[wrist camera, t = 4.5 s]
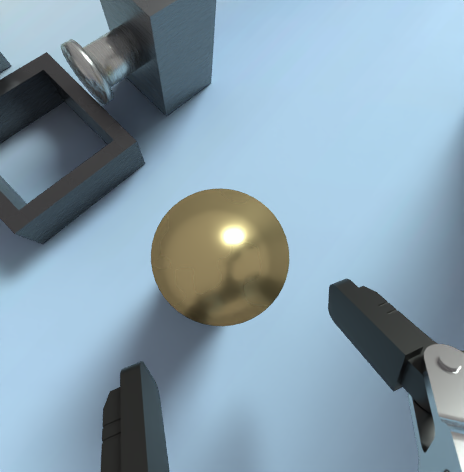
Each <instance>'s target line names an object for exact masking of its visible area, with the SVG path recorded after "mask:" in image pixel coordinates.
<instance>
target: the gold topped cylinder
mask: <svg viewBox="0 0 464 472" xmlns="http://www.w3.org/2000/svg"><path fill="white" fill-rule="evenodd" d="M151 264H152V271H153V275H154V278H155V281H156V283H157V285H158V288H159V290H160V291H161V293H162V294H163V296H164V298H165V299H166V300H167V301H168V302H169V304H170V305H171V306H172V307H174V308H175V309H176V310H177V311H178V312H180V313H181V314H183V315H184V316H186V317H187V318H189V319H192V320H194V321H196V322H199V323H202V324H206V325H212V326H229V325H235V324H239V323H243V322H245V321H248V320H250V319H252V318H254V317H256V316H258V315H259V314H260V313H262V312H263V311H264V310H266V309H267V308H268V307H269V306H270V305H271V304H272V303H273V302H274V300H275V299H276V298H277V296H278V295H279V293H280V291H281V290H282V288H283V285H284V283H285V280H286V277H287V273H288V267H289V249H288V243H287V239H286V236H285V233H284V231H283V229H282V227H281V225H280V223H279V221H278V220H277V218H276V217H275V216H274V214H273V213H272V212H271V211H270V210H269V209H268V208H267V207H266V206H265V205H263V204H262V203H261V202H260V201H258V200H256V199H255V198H253V197H251V196H249V195H247V194H245V193H242V192H239V191H235V190H230V189H210V190H204V191H200V192H197V193H194V194H192V195H190V196H188V197H186V198H184V199H182V200H181V201H179V202H178V203H177V204H176V205H174V206H173V207H172V208H171V209H170V210H169V211H168V212H167V214H166V215H165V216H164V218H163V219H162V220H161V222H160V224H159V226H158V228H157V230H156V233H155V235H154V239H153V243H152V250H151Z"/></svg>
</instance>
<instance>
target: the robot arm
mask: <svg viewBox="0 0 464 472" xmlns="http://www.w3.org/2000/svg"><path fill="white" fill-rule="evenodd" d="M328 310H329V314H330V316H331V318H332V320H333V321H334V323H335V324H336V325H337V326H338V327H339V328H340V330H341V331H342V332H343V333H344V334H345V335H346V337H347V338H348V339H349V340H350V341H351V342H352V344H353V345H354V346H355V347H356V348H357V349H358V351H359V352H360V353H361V354H362V355H363V356H364V358H365V359H366V360H367V361H368V362H369V363H370V365H371V366H372V367H373V368H374V369H375V370H376V372H377V373H378V374H379V375H380V376H381V377H382V379H383V380H384V381H385V382H386V383H387V385H388V386H389V387H390V388H391V389H392V390H393V392H394V391H396V390H398V389H399V388H401V387H403V388H404V389H405V390H406V391H407V392H408V400H409V405H410V411H411V416H412V421H413V427H414V432H415V438H416V443H417V449H418V457H419V462H418V472H464V351H460V350H458V349H456V348H454V347H451V346H448V345H444V344H438V343H436V342H434V341H433V340H432V339H430V338H429V337H428V336H427V335H426V334H425V333H423V332H422V331H421V330H420V329H419V328H418V327H416V326H415V325H414V324H413V323H412V322H411V321H410V320H408V319H407V318H406V317H405V316H404V315H403V314H401V313H400V312H399V311H397V310H396V308H394V307H393V306H392V305H391V304H390V303H387V301H386V300H385V299H384V298H383V297H382V296H380V295H379V294H378V293H377V292H375V291H373V290H371V289H369V288H367V287H365V286H362V287H357V286H356V285H355V284H354V283H353V282H352V281H351V280H349V279H344V280H342V281H339V282H337V283H334V284H332V285H330V287H329V303H328ZM102 441H103V444H102V455H101V472H169V464H168V456H167V449H166V441H165V433H164V425H163V417H162V410H161V402H160V395H159V391H158V387H157V385H156V382H155V380H154V379H153V377H152V376H151V374H150V372H149V371H148V369H147V367H146V366H145V364H144V363H143V362H142V361H141V362H139V363H136V364H134V365H131V366H129V367H127V368H124V369H122V370H121V373H120V387H119V388H117V389H115V390H112V391H110V393H109V395H108V398H107V401H106V403H105V406H104V408H103V431H102Z"/></svg>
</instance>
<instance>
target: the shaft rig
mask: <svg viewBox="0 0 464 472" xmlns="http://www.w3.org/2000/svg"><path fill="white" fill-rule="evenodd" d="M100 2H101V5H102V8H103V11H104V14H105V17H106V20H107V23H108V26H109V29H110V31H109V32H108V33H106V34H104V35H103V36H101V37H100V38H98V39H96V40H95V41H93V42H91V43H90V44H88V45H86V46H85V47H83V48H82V47H81V46H80V45H79V44H78V43H77V42H76V41H74V40H72V39H70V40H69V41H67V42H65V43H63V44H62V45H61V50H62V52H63V55H64V57H65V58H66V60H67V62H68V64H69V65H70V67H71V68H72V70H73V71H74V73H75V74H76V76H77V77H78V78H79V80H80V81H81V82H82V83H83V85H84V86H85V87H86V88H87V90H88V91H89V92H90V93H91V94H92V95H93V96H94V97H95V98H96V99H97V100H98V101H99V102H100V103H102V104H104V105H105V104H107V103H108V102H110V101H111V100H113V98H114V96H113V92H112V90H111V87H112V86H114V85H115V84H117V83H118V82H120V81H121V80H123V79H124V78H126V77H127V78H128V79H129V80H130V81H131V82H132V83H133V84H134V85H135V86H136V87H137V88H138V89H139V90H140V91H141V92H142V93H143V94H144V95H145V96H146V97H147V98H148V99H149V100H150V101H151V102H152V103H153V104H155V105H156V106H157V107H158V108H159V109H160V110H161V111H162V112H163V113H164V114H165V115H166V116H167V115H169V114H170V113H171V112H173V111H174V110H175V109H177V108H178V107H179V106H181V105H182V104H183V103H185V102H186V101H187V100H189V99H190V98H191V97H193V96H194V95H195V94H197V93H198V92H199V91H201V90H202V89H203V88H205V87H206V86H207V85H209V84H210V83H211V76H212V59H213V43H214V27H215V11H216V0H100ZM10 66H11V65H10V63H9V62H8V61H7V60H6V58H5V57H4V56H3V55H2V53H1V52H0V72H1V71H3V70H5V69H6V68H8V67H10ZM64 101H65V102H66V103H67V104H68V105H69V106H70V107H71V108H72V109H73V110H74V111H75V112H76V113H77V114H78V115H79V116H80V117H81V118H82V119H83V120H84V121H85V122H86V123H87V124H88V125H89V126H90V127H91V128H92V129H93V130H94V131H95V132H96V133H97V134H98V135H99V136H100V137H101V138H102V139H103V140H104V141H105V142H106V143H107V144H108V145H107V146H105V147H104V148H103V149H101V150H100V151H99V152H97V153H96V154H95V155H93V156H92V157H90V158H89V159H88V160H86V161H85V162H84V163H82V164H81V165H80V166H78V167H77V168H76V169H74V170H73V171H71V172H70V173H69V174H67V175H66V176H65V177H63V178H62V179H61V180H59V181H58V182H56V183H55V184H54V185H52V186H51V187H50V188H48V189H47V190H46V191H44V192H43V193H42V194H40V195H39V196H37V197H36V198H35V199H33V200H32V201H31V202H29V203H28V204H26V203H25V201H24V200H23V199H22V198H21V197H20V196H19V195H18V194H17V193H16V192H15V191H14V190H13V189H12V188H11V187H10V185H9V184H8V183H7V182H6V181H5V180H4V179H3V178H2V177H1V176H0V218H1V220H2V221H3V222H4V223H5V224H6V225H7V226H8V227H9V228H10V229H11V230H12V231H13V233H14V234H17V235H19V236H22V237H25V238H28V239H30V240H33V241H36V242H38V243H41V244H44V243H45V242H46V241H47V240H49V239H50V238H51V237H52V236H54V235H55V234H56V233H58V232H59V231H60V230H61V229H63V228H64V227H65V226H66V225H68V224H69V223H70V222H71V221H73V220H74V219H75V218H77V217H78V216H79V215H80V214H82V213H83V212H84V211H85V210H87V209H88V208H89V207H91V206H92V205H93V204H94V203H96V202H97V201H98V200H99V199H101V198H102V197H103V196H104V195H106V194H107V193H108V192H110V191H111V190H112V189H113V188H115V187H116V186H117V185H118V184H120V183H121V182H122V181H124V180H125V179H126V178H127V177H129V176H130V175H131V174H132V173H134V172H135V171H136V170H137V169H139V168H140V167H141V166H143V165H144V164H145V162H144V159H143V157H142V154H141V152H140V149H139V146H138V144H137V141H136V140H135V139H134V138H133V137H132V136H131V135H130V134H129V133H128V132H127V131H126V130H125V129H124V128H123V127H122V126H121V125H120V124H119V123H118V122H117V121H116V120H115V119H114V118H113V117H112V116H110V115H109V114H108V113H107V112H106V111H105V110H104V109H103V108H102V107H101V106H100V105H99V104H98V103H97V102H96V101H95V100H94V99H93V98H92V97H91V96H90V95H89V94H88V93H87V92H86V91H85V90H84V89H83V88H82V87H81V86H80V85H79V84H78V83H77V82H76V81H75V80H74V79H73V78H72V77H71V76H70V75H69V74H68V73H67V72H66V71H65V70H64V69H63V68H62V67H61V66H60V65H59V64H58V63H57V62H56V61H55V60H54V59H53V58H52V57H51V56H50V55H49V54H48V53H47V52H46V53H45V54H43V55H41V56H40V57H38V58H36V59H35V60H33V61H31V62H30V63H28V64H26V65H24V66H23V67H21V68H19V69H18V70H16V71H14V72H13V73H11V74H9V75H8V76H6V77H4V78H3V79H1V80H0V143H1V142H3V141H4V140H6V139H7V138H9V137H10V136H12V135H13V134H15V133H16V132H18V131H20V130H21V129H23V128H24V127H26V126H27V125H29V124H30V123H32V122H33V121H35V120H36V119H38V118H39V117H41V116H42V115H44V114H45V113H47V112H49V111H50V110H52V109H53V108H55V107H56V106H58V105H59V104H61V103H62V102H64Z"/></svg>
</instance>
